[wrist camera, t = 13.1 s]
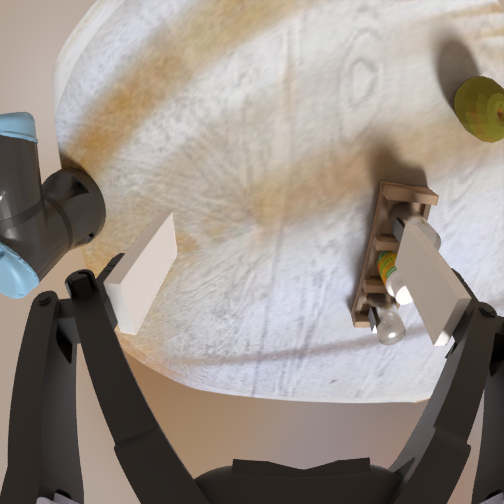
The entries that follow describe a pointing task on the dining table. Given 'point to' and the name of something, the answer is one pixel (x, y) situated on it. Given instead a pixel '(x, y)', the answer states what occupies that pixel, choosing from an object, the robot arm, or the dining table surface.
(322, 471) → the robot arm
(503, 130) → the apple
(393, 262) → the supplement bottle
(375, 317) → the glass spice jar
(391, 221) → the shiny gray cylinder
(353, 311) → the wooden spice rack
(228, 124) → the dining table surface
